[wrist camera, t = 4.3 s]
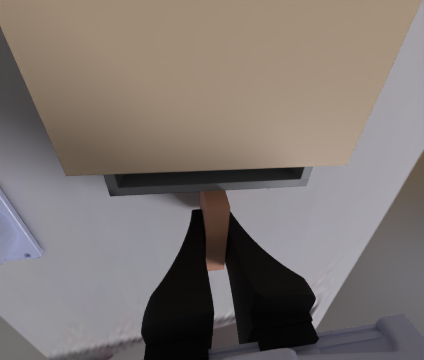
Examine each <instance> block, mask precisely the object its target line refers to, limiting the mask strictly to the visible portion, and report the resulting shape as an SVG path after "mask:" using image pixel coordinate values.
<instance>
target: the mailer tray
mask: <svg viewBox="0 0 424 360" xmlns="http://www.w3.org/2000/svg"><path fill="white" fill-rule="evenodd" d="M312 168H313V166H311V167H286V168H260V169H234V170H209V171H183V172H157V173H131V174H106V175H104V178H105V181H106V185H107V188H108V191H109V194H110V196H126V195H145V194H164V193H183V192H200V209H202V213H203V242H204V250H205V257H206V264H207V270H208V271H212V270H222V269H224V264H225V254H226V245H227V235H228V226H229V216H230V205H229V202H228V199H227V195H226V192H225V190H241V189H260V188H279V187H298V186H306V185H307V183H308V180H309V177H310V174H311V171H312Z"/></svg>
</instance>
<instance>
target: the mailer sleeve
mask: <svg viewBox="0 0 424 360" xmlns="http://www.w3.org/2000/svg"><path fill="white" fill-rule="evenodd" d="M421 2H422V0H0V27H1V29H2V31H3V34H4V36H5V38H6V40H7V43H8V45H9V47H10V49H11V52H12V54H13V56H14V59H15V61H16V63H17V65H18V68H19V70H20V72H21V74H22V77H23V79H24V81H25V84H26V86H27V88H28V90H29V93H30V95H31V97H32V99H33V102H34V104H35V106H36V109H37V111H38V113H39V115H40V118H41V120H42V122H43V124H44V127H45V129H46V131H47V134H48V136H49V138H50V140H51V143H52V145H53V147H54V149H55V152H56V154H57V156H58V158H59V161H60V163H61V165H62V168H63V170H64V172H65V174H66V176H80V175H106V174H131V173H157V172H183V171H209V170H234V169H260V168H286V167H311V166H337V165H347V164H348V162H349V160H350V157H351V155H352V153H353V151H354V149H355V146H356V144H357V142H358V140H359V138H360V135H361V133H362V131H363V129H364V127H365V125H366V122H367V120H368V118H369V116H370V114H371V111H372V109H373V107H374V105H375V103H376V100H377V98H378V96H379V94H380V92H381V90H382V87H383V85H384V83H385V81H386V79H387V76H388V74H389V72H390V70H391V68H392V65H393V63H394V61H395V59H396V57H397V54H398V52H399V50H400V48H401V46H402V44H403V41H404V39H405V37H406V35H407V33H408V30H409V28H410V26H411V24H412V22H413V19H414V17H415V15H416V13H417V11H418V9H419V6H420V4H421Z"/></svg>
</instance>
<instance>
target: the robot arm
mask: <svg viewBox="0 0 424 360" xmlns="http://www.w3.org/2000/svg"><path fill="white" fill-rule="evenodd" d="M42 254H43V250H42V249H41V247H40V246H39V244H38V243H37V242H36V240H35V239H34V237H33V236H32V234H31V233H30V231H29V230H28V228H27V227H26V225H25V224H24V222H23V221H22V220H21V218H20V217H19V215H18V214H17V212H16V211H15V209H14V208H13V206H12V205H11V203H10V202H9V201H8V199H7V198H6V196H5V195H4V193H3V192H2V190H1V189H0V265H1V264H2V263H3V262H4V261H10V260H22V259H33V258H39V257H41V255H42ZM225 263H226V267H227V271H228V275H229V280H230V286H231V292H232V298H233V304H234V311H235V317H236V324H237V331H238V338H239V345H234V346H228V347H221V348H214V349H211V345H212V335H213V322H214V307H213V299H212V294H211V288H210V283H209V277H208V270H207V264H206V257H205V250H204V242H203V213H202V209H197V210H192V215H191V221H190V225H189V228H188V231H187V234H186V237H185V239H184V242H183V244H182V247H181V249H180V251H179V253H178V255H177V257H176V259H175V261H174V262H173V264H172V266H171V268H170V269H169V271H168V272H167V274H166V275H165V277H164V278H163V280H162V281H161V283H160V284H159V286H158V287H157V288H156V290H155V291H154V292H153V294H152V295H151V297H150V299H149V302H148V304H147V307H146V310H145V313H144V317H143V322H142V328H141V335H142V337H143V339H144V342H145V344H146V348H145V356H144V360H424V337H423V335H422V334H421V333H420V332H419V331H418V329H417V328H416V327H415V326H414V325H413V324H412V323H411V321H410V320H409V319H408V318H407V317H406V315H405V314H402V313H401V314H394V315H388V316H384V317H381V318H380V319H378V320H377V321H376V323H375V324H369V325H363V326H357V327H350V328H344V329H337V330H330V331H325V332H318V333H316V331H315V329H314V327H313V325H312V323H311V322H312V321H313V320H312V317H311V315H310V313H309V311H310V310H311V308H312V306H313V305H314V303H315V300H316V298H315V295H314V293H313V291H312V290H311V288H310V286H309V285H308V283H307V282H306V281H305V279H304V278H303V277H301V276H300V275H298V274H296V273H295V272H293V271H291V270H290V269H288V268H287V267H285V266H284V265H282V264H281V263H280V262H278V261H277V260H276V259H274V258H273V257H272V256H271V255H269V254H268V253H267V252H266V251H265V250H263V249H262V248H261V247H260V246H259V245H258V244H257V243H256V242H255V241H254V240H253V239H252V238H251V237H250V236H249V235H248V234H247V232H246V231H245V230H244V229H243V228H242V226H241V225H240V224H239V223H238V221H237V220H236V219H235V217H234V216H233V214H232V213H231V211H230V216H229V226H228V235H227V245H226V254H225Z"/></svg>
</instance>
